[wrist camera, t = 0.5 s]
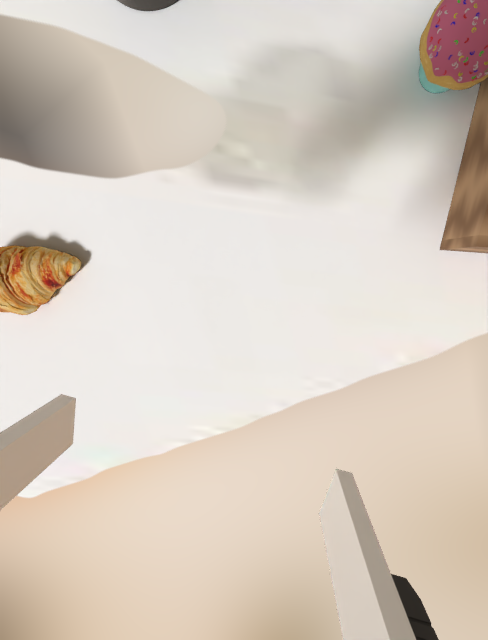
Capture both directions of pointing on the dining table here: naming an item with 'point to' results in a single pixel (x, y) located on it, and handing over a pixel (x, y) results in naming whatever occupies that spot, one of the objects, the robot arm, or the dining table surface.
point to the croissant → (32, 276)
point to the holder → (471, 187)
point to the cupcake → (455, 46)
